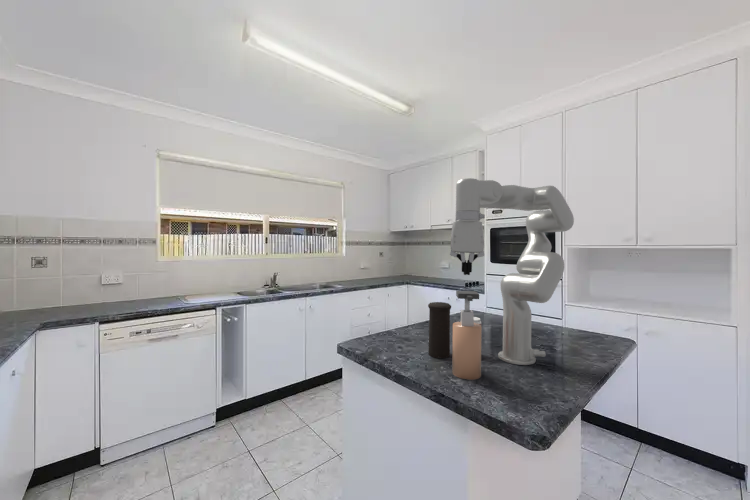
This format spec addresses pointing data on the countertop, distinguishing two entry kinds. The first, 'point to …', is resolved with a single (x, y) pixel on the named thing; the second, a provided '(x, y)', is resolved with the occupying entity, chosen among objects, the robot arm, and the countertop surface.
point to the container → (439, 329)
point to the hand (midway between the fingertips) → (466, 274)
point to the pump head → (467, 297)
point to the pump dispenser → (466, 347)
